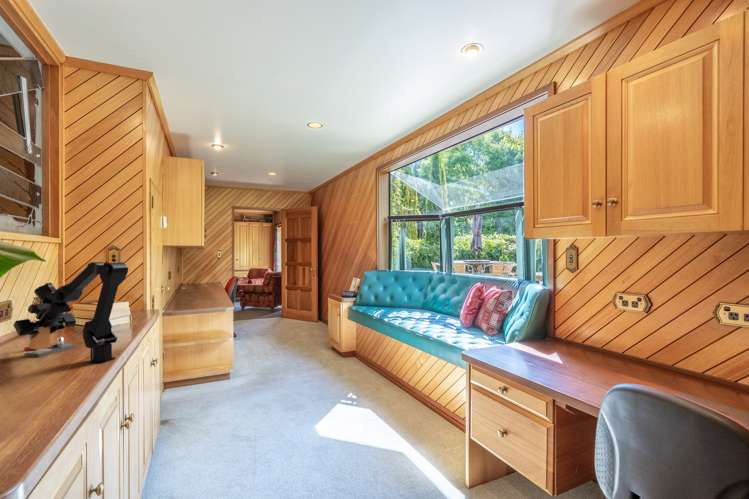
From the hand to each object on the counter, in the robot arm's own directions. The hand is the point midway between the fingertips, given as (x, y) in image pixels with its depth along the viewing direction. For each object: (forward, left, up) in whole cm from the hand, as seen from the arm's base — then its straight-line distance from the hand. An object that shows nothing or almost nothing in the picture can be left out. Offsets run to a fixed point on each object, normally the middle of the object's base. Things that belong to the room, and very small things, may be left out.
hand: (38, 336), depth 146 cm
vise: (-1, -4, -7) cm, 8 cm away
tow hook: (+10, -8, -8) cm, 15 cm away
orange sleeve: (-1, 0, -4) cm, 5 cm away
